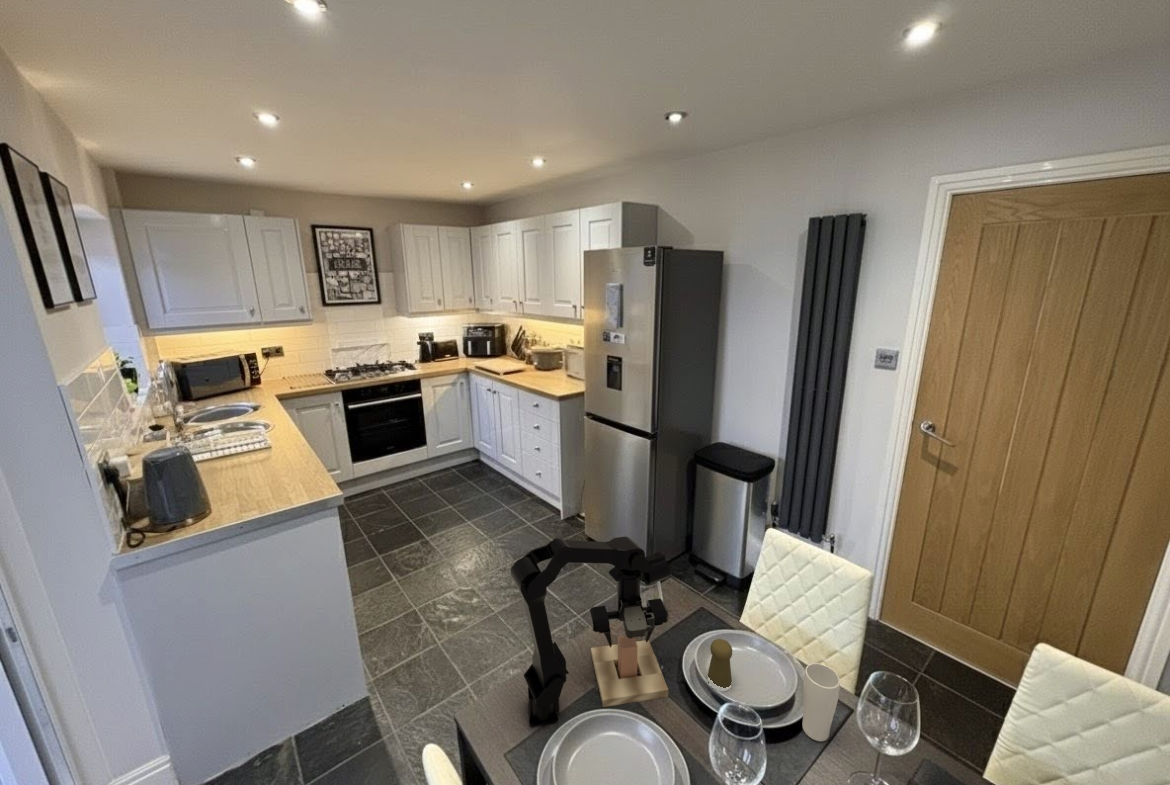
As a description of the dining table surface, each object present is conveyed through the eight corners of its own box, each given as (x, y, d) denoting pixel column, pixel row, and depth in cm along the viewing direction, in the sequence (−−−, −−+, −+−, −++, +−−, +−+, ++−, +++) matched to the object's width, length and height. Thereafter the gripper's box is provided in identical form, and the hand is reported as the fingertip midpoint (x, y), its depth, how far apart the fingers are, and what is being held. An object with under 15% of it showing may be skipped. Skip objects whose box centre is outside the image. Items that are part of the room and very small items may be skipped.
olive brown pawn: (733, 693, 111) (736, 655, 109) (707, 689, 112) (709, 651, 110) (730, 673, 117) (733, 636, 114) (706, 669, 118) (708, 633, 116)
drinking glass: (831, 752, 97) (839, 694, 94) (796, 736, 101) (802, 679, 97) (833, 726, 103) (841, 670, 99) (800, 712, 106) (807, 657, 103)
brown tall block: (621, 682, 115) (621, 648, 112) (617, 669, 119) (617, 636, 116) (637, 679, 115) (637, 646, 113) (632, 667, 119) (633, 634, 117)
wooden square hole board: (602, 707, 108) (602, 700, 108) (590, 654, 123) (590, 648, 123) (668, 696, 111) (668, 689, 110) (648, 646, 126) (648, 639, 125)
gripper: (597, 617, 102) (597, 675, 106) (677, 606, 105) (675, 663, 109) (588, 585, 113) (589, 639, 116) (661, 576, 116) (660, 629, 119)
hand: (628, 643), depth 115 cm, fingers open, 9 cm apart
